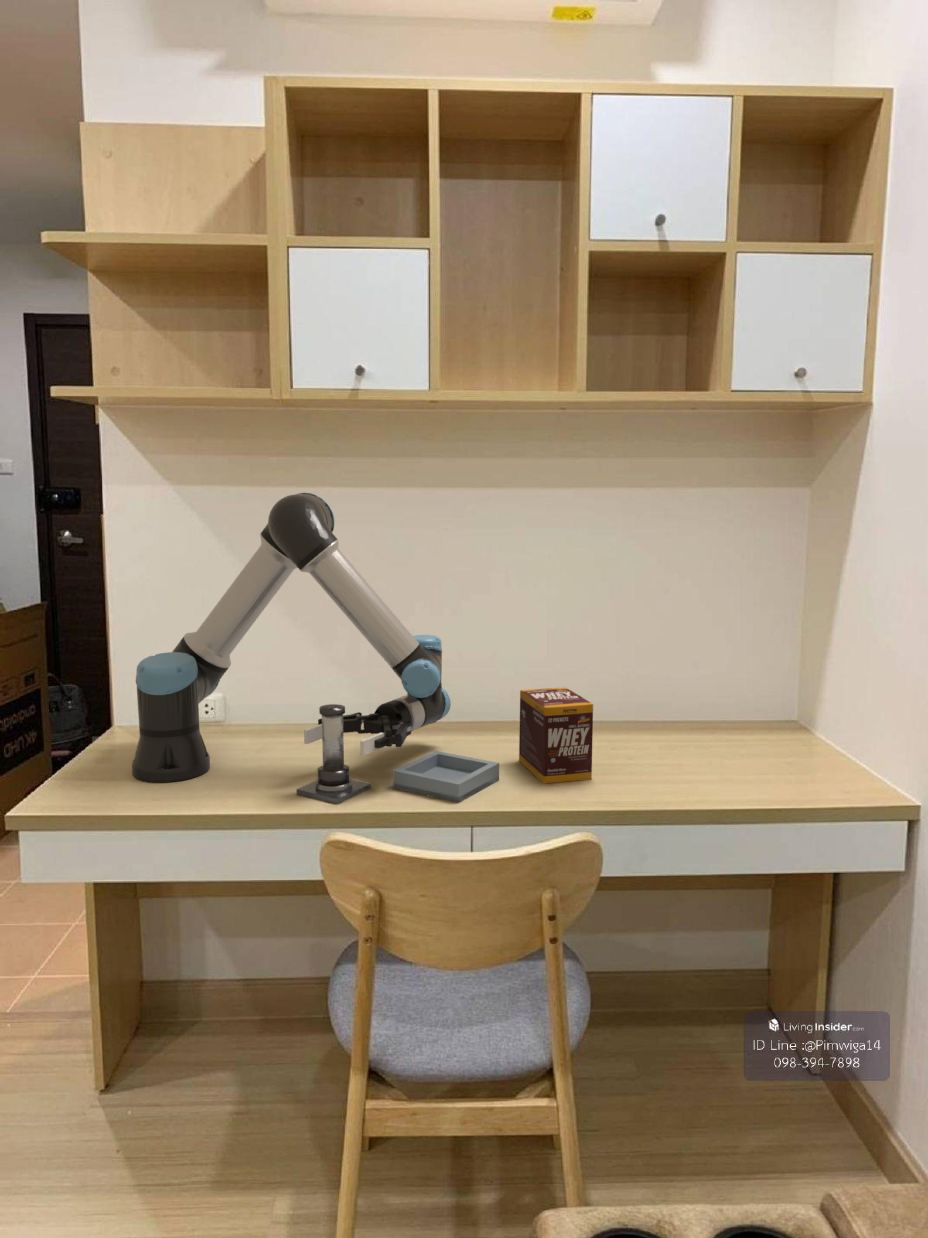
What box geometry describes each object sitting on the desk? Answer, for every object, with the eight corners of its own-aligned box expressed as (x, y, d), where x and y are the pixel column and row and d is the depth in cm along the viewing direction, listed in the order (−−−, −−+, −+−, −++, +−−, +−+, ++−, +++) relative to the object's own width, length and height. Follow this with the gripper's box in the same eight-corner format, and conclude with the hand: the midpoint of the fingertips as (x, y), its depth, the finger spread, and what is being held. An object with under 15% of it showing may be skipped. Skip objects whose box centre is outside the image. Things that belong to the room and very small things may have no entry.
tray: (393, 788, 179) (393, 770, 178) (436, 767, 192) (436, 750, 191) (458, 802, 171) (458, 784, 171) (499, 779, 184) (499, 762, 183)
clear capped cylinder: (311, 782, 176) (309, 708, 173) (331, 774, 181) (330, 702, 179) (335, 788, 173) (334, 713, 170) (356, 779, 178) (354, 706, 175)
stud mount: (296, 794, 175) (296, 784, 175) (330, 779, 184) (330, 769, 184) (337, 804, 170) (337, 793, 170) (370, 788, 179) (370, 778, 178)
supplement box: (543, 784, 181) (544, 707, 179) (518, 761, 196) (519, 689, 193) (592, 779, 184) (594, 703, 182) (564, 757, 199) (565, 686, 196)
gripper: (449, 744, 187) (386, 772, 169) (351, 726, 200) (284, 751, 182) (449, 707, 186) (386, 733, 168) (350, 692, 199) (282, 714, 181)
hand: (333, 742), depth 175 cm, fingers open, 13 cm apart
